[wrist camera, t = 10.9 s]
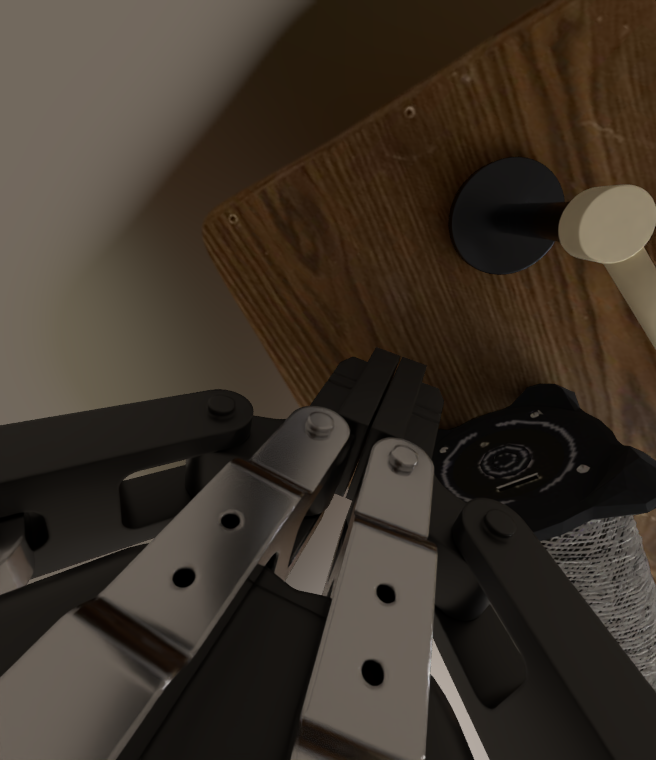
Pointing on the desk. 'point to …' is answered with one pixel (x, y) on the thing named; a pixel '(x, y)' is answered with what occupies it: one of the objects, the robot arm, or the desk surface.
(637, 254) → the rod
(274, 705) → the robot arm
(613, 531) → the speaker
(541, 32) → the desk surface
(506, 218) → the stand
